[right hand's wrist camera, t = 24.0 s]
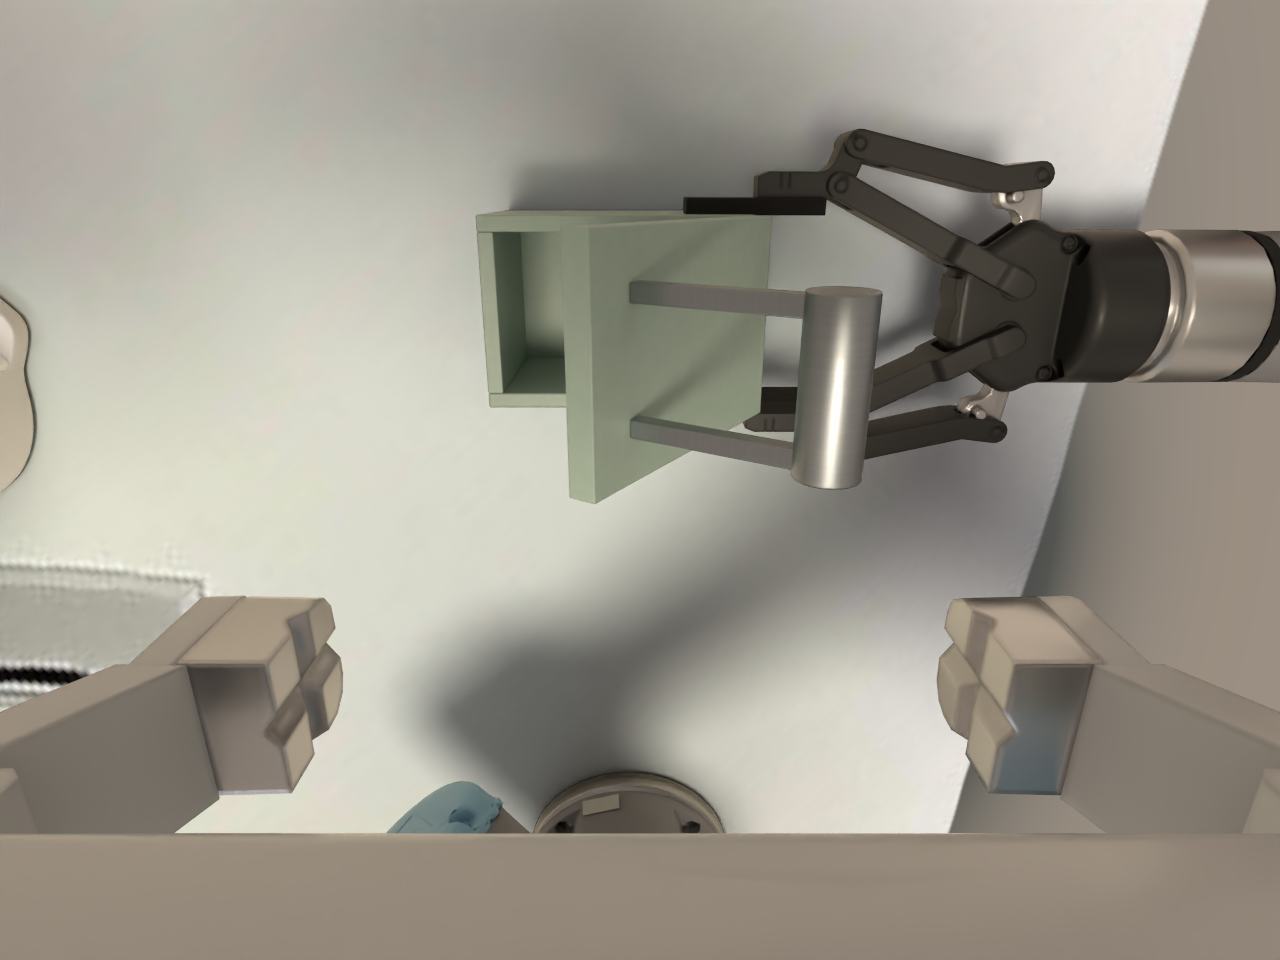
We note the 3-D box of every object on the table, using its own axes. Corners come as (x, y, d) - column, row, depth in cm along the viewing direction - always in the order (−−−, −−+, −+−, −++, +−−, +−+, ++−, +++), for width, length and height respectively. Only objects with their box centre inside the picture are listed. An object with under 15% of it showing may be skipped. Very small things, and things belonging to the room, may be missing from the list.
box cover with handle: (568, 498, 26) (826, 564, 22) (559, 226, 23) (859, 235, 18) (739, 409, 37) (936, 440, 32) (749, 215, 34) (968, 219, 29)
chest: (517, 366, 46) (489, 407, 37) (507, 210, 43) (475, 214, 34) (726, 366, 46) (748, 407, 37) (733, 210, 43) (758, 215, 34)
